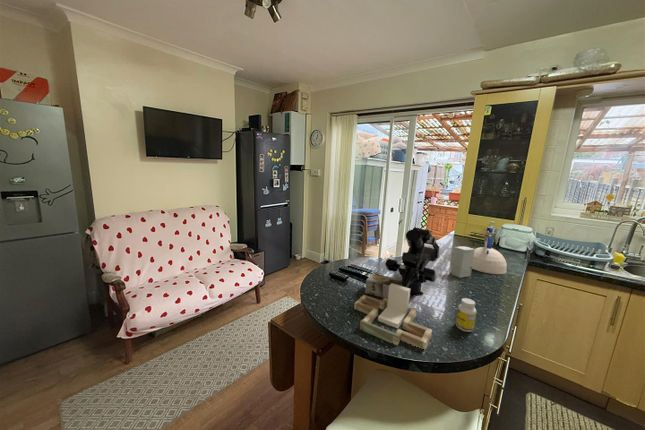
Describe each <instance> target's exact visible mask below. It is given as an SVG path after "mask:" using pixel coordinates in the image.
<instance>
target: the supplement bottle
mask: <svg viewBox="0 0 645 430" xmlns="http://www.w3.org/2000/svg"><path fill="white" fill-rule="evenodd" d="M475 306H476V301H474V300H473V299H471V298H469V297H468V298H467V297H463V298H461V301H460V304H459V305H458V306H457V313H456V319H455V325H456V327H457V328H458V329H459V330H461V331H463V332H465V333H466V332H468V333H469V332H470V333H472V332H474V328H475V324H476V323H475V322H476V319H477V318H476V317H477V309H476V308H475Z"/></svg>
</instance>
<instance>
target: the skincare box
mask: <svg viewBox="0 0 645 430" xmlns="http://www.w3.org/2000/svg"><path fill="white" fill-rule="evenodd" d="M475 249H476V248H471V247H469V246H454V247H453V255H452V261H451V269H450V274H451V275H453V276H454V277H457V278H459V279H461V278H466V277H471V275H472V270H473V269H472V263H473V256H474V250H475Z"/></svg>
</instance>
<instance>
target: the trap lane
mask: <svg viewBox="0 0 645 430" xmlns="http://www.w3.org/2000/svg"><path fill="white" fill-rule="evenodd" d="M387 303H388V299H387V298H382V299H378V298H374V297H371V296H368V295H365V294H363V295H362V296H360V298H359V299H357V300H356V301H355V302H354V306H353V307H354V308H353V309H354V310H356V311H359V312H361V313H363V314H366V315H365V317H364V318H363V319H361V320H360V322H359V330H360V331H362V332H365V333H367V334H369V335H372V336H375V337H377V338H379V339H380V340H383V341H386V342H388V343H391V344H392V343H393V345H395V346H399V344H400V342H404V343H405V342H406V344H407V345H410V344H411V345H410V346H413V347H415V346H416V347H415V348H417V347H419V348H418V349H420V348H421V349H420V350H422V349H424V350H423V351H426V350H427V348H428V346H429V343H430V340H431V338H432V334H433V333H432V332H433V330H432V329H431V328H428V327H426V326H424V325H420V324H418V323H415V322H413V321H414V319H415V318H416V316H417V315H418V314H417V312H418V308H416V307H412V308H411V309H410V311H408V312H409V313H408V314H407V316H406V317H405V319H404V320H403V322H402V329H403V330H402V329H399V328H398V329H397V330H396V332H393V331H391V330H388V329H386V328H383V327H380V326H379V325H376V324H373V322H374V320H375V319H376V318H378V317H379V309H380V310H383V311H384V310H385V309H386V308H387ZM404 330H406V331H404ZM400 340H401V341H400ZM425 349H426V350H425Z"/></svg>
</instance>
